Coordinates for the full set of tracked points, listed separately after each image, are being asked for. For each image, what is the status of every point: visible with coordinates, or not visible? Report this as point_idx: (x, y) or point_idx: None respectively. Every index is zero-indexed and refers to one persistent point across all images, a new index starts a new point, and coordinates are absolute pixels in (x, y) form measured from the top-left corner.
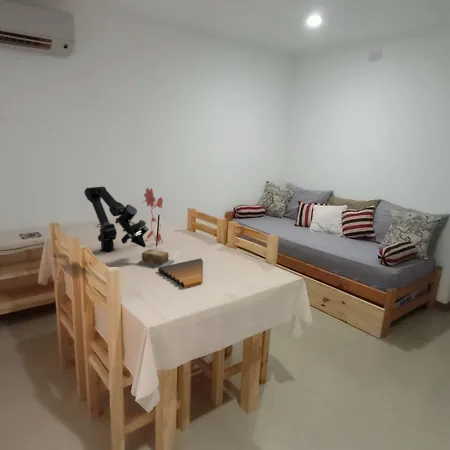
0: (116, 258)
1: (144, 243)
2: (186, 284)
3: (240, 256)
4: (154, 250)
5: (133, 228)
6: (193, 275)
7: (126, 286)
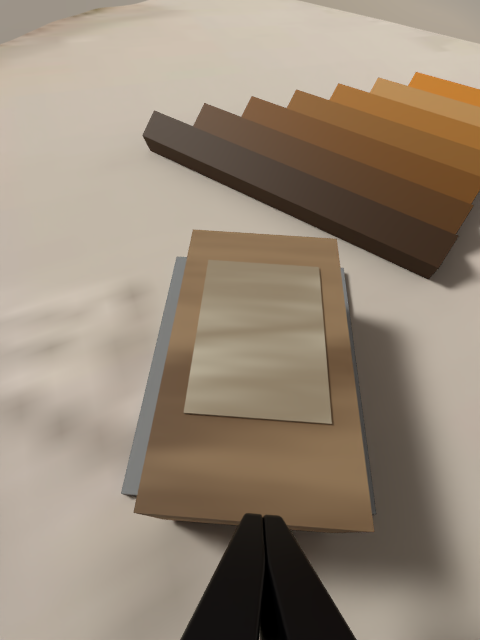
0: None
1: (247, 566)
2: None
3: (16, 59)
4: (177, 390)
5: None
6: (421, 91)
7: None
